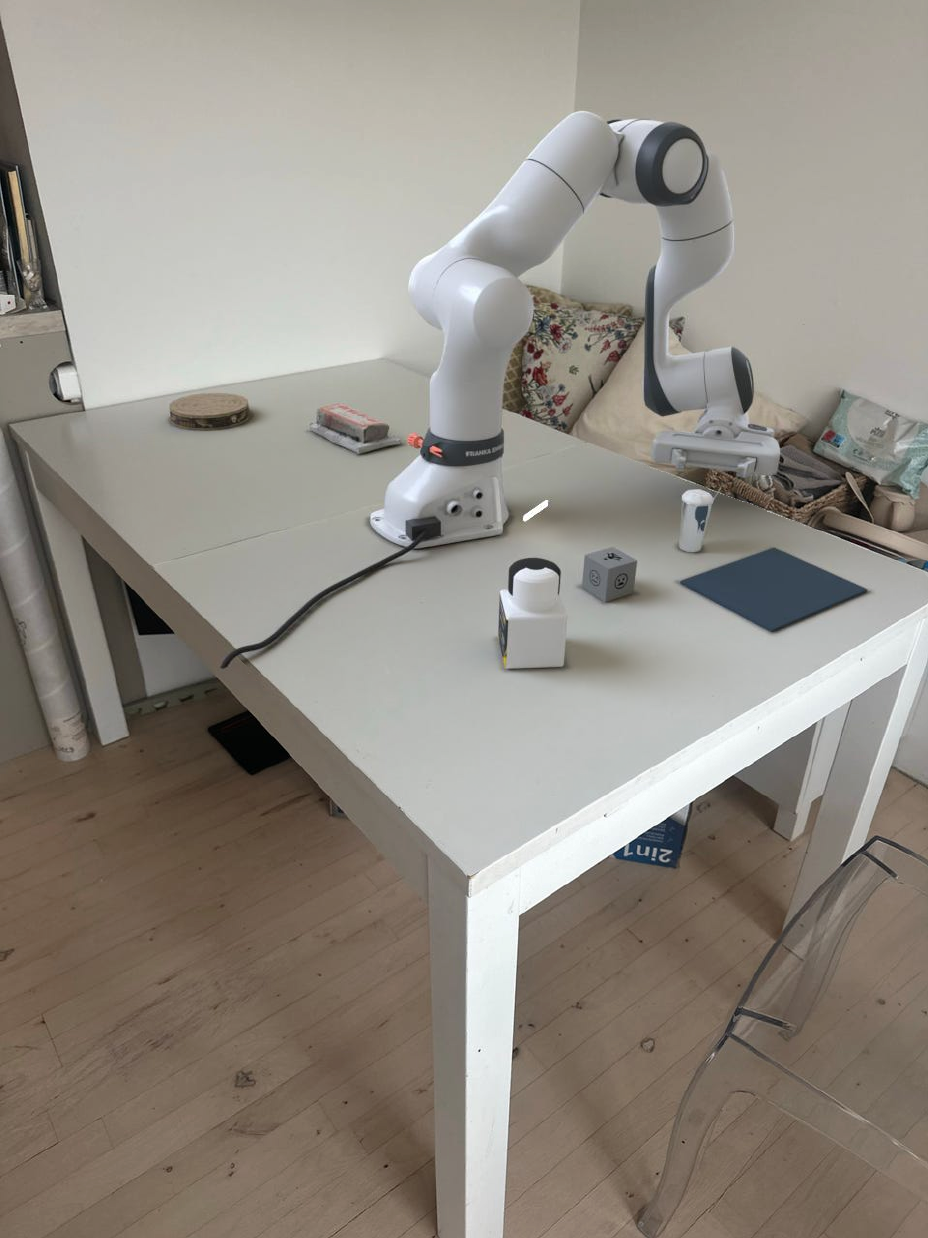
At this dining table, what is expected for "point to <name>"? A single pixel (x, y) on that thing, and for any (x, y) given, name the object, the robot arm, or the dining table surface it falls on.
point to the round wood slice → (209, 411)
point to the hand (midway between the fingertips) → (710, 468)
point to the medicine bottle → (532, 616)
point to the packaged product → (352, 429)
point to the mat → (773, 588)
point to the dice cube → (609, 574)
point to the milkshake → (694, 519)
